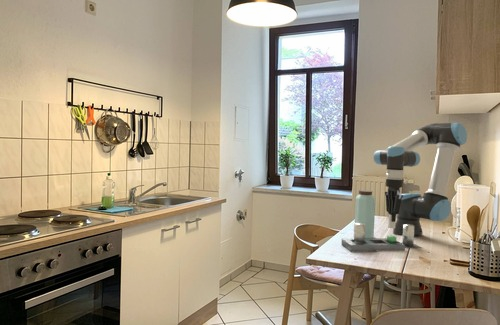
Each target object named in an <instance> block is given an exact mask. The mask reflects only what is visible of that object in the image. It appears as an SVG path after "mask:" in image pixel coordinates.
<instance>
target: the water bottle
mask: <svg viewBox="0 0 500 325" xmlns="http://www.w3.org/2000/svg"><path fill="white" fill-rule="evenodd" d="M354 204H355V205H354V223H363V224H365V238H374V236H375V215H376V198H375V197H374V196H373V191H372V190H365V189H361V190H358V194H357V195H356V196H355V203H354Z"/></svg>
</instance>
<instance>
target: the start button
mask: <svg viewBox="0 0 500 325" xmlns="http://www.w3.org/2000/svg"><path fill="white" fill-rule="evenodd" d="M386 238H387V241H388V242H396V241H397V236H395V235H387V236H386Z"/></svg>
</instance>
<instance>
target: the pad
mask: <svg viewBox="0 0 500 325" xmlns="http://www.w3.org/2000/svg"><path fill="white" fill-rule="evenodd" d="M405 249H423V247H421V246H420V245H418V244H416V243H414V245H413V247H407V246H405Z"/></svg>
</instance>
